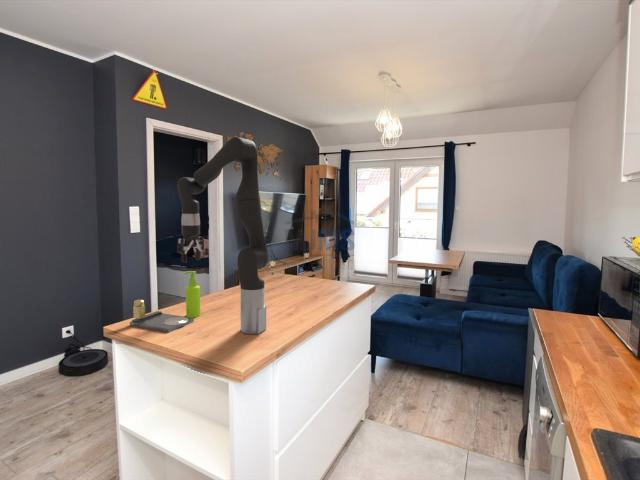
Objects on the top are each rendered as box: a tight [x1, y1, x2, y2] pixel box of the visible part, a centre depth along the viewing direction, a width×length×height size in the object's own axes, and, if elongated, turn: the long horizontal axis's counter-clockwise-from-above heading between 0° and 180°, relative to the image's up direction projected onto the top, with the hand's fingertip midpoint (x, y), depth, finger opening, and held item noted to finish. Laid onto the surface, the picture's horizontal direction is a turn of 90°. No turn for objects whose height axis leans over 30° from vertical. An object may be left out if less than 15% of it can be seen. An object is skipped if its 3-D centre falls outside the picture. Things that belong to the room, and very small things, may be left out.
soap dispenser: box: [182, 270, 201, 319], centre depth 152 cm, size 6×7×20 cm
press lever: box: [132, 299, 146, 319], centre depth 140 cm, size 4×4×7 cm
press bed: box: [129, 310, 195, 333], centre depth 142 cm, size 21×14×2 cm
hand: (191, 261), depth 150 cm, fingers open, 8 cm apart
